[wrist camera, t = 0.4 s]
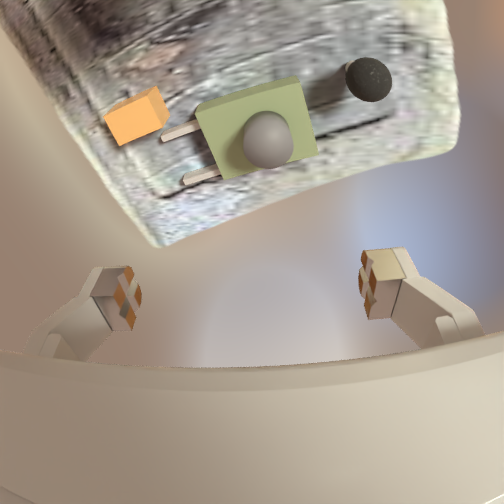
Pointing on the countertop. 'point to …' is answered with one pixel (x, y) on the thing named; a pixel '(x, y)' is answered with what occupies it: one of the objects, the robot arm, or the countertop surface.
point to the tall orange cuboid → (137, 116)
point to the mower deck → (240, 109)
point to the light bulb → (368, 79)
